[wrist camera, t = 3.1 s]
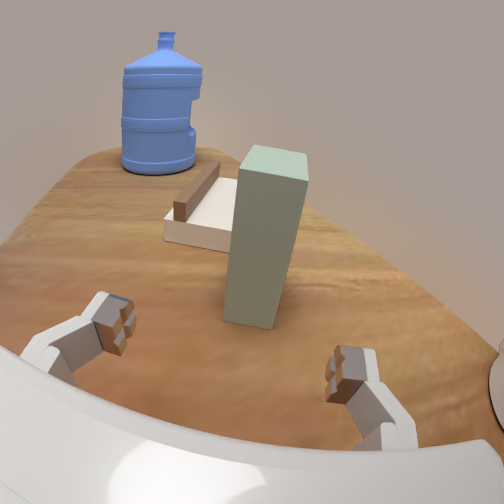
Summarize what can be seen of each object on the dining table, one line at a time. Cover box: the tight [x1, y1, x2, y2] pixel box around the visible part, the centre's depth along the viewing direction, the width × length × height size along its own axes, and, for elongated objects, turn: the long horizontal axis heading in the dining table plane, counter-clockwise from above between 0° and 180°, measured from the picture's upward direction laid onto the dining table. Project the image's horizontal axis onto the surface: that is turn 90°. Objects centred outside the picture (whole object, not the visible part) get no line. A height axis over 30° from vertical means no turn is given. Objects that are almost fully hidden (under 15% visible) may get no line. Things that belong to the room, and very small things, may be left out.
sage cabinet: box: [223, 145, 309, 330], centre depth 26 cm, size 4×8×14 cm, turn 172°
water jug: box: [121, 31, 202, 175], centre depth 51 cm, size 16×16×28 cm
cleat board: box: [164, 161, 237, 253], centre depth 40 cm, size 12×16×6 cm
